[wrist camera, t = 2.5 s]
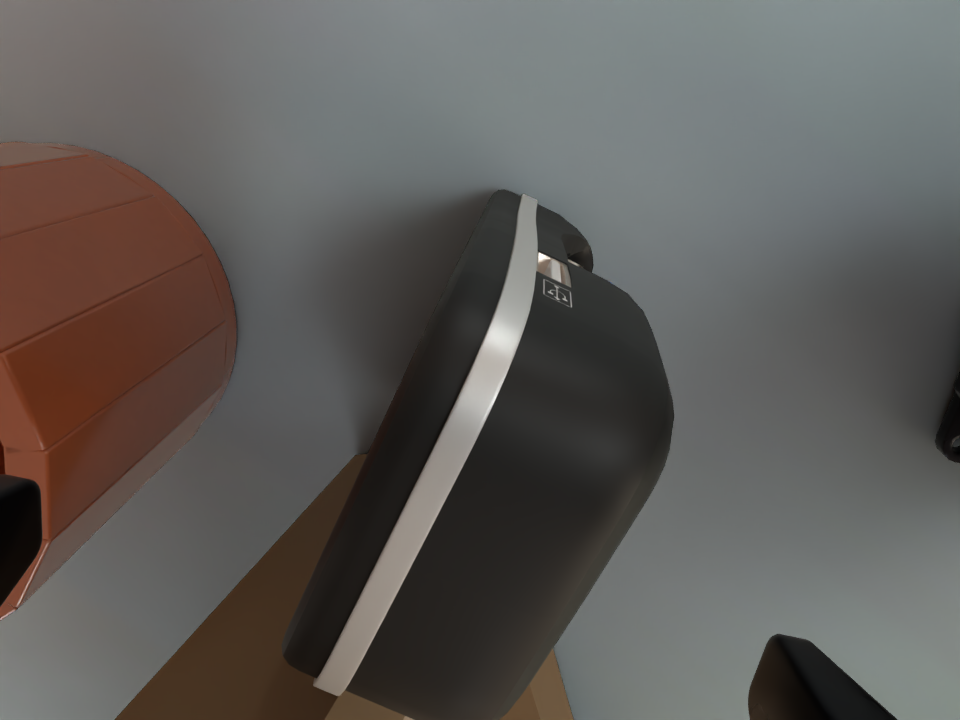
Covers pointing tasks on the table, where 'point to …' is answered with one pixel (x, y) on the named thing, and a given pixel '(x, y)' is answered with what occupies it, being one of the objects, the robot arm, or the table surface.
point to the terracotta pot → (99, 337)
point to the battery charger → (490, 480)
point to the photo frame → (259, 635)
